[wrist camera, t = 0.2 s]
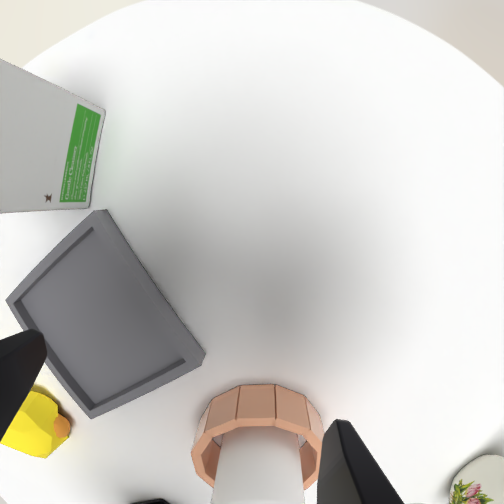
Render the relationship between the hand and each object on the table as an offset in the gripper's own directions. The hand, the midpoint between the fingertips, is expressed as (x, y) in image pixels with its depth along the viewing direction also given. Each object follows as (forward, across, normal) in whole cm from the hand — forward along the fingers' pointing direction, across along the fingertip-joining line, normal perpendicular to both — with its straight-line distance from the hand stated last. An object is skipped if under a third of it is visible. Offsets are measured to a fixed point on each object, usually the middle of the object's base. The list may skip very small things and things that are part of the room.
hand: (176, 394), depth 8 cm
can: (+12, -6, +17) cm, 22 cm away
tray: (+13, +10, +11) cm, 20 cm away
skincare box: (+16, +16, -2) cm, 23 cm away
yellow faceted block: (+10, +22, +26) cm, 35 cm away
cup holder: (+12, -6, +17) cm, 21 cm away
